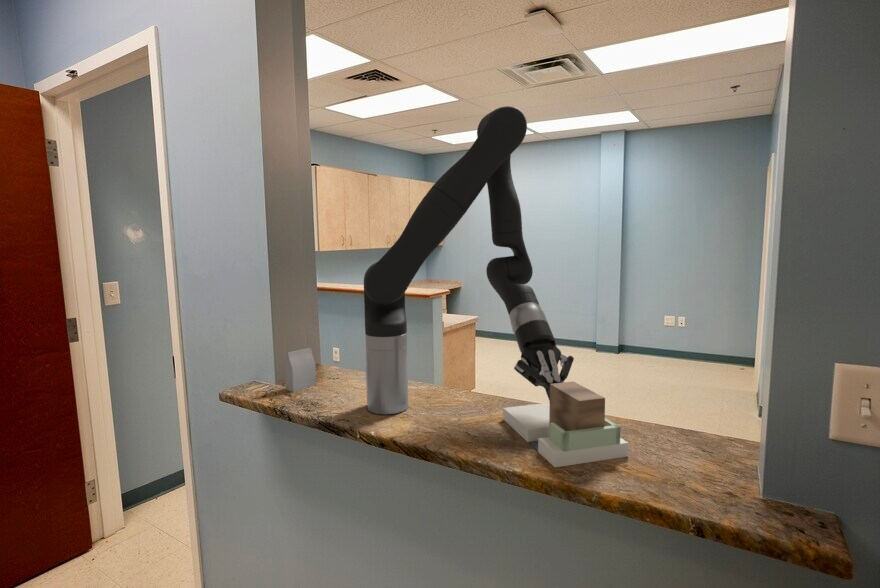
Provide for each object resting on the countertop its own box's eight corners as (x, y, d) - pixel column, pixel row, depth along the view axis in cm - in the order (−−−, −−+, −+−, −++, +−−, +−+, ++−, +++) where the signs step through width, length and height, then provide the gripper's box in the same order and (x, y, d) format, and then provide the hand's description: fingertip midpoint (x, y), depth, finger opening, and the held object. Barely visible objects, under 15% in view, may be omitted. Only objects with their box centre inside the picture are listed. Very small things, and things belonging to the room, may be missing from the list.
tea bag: (316, 386, 123) (314, 348, 122) (293, 392, 118) (291, 353, 117) (308, 383, 125) (306, 347, 124) (285, 389, 120) (283, 351, 119)
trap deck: (503, 419, 98) (503, 394, 97) (563, 412, 102) (563, 387, 101) (554, 467, 77) (555, 435, 76) (628, 456, 80) (629, 425, 80)
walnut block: (549, 424, 88) (549, 383, 88) (572, 421, 90) (573, 381, 89) (578, 446, 79) (579, 400, 78) (604, 443, 80) (605, 398, 79)
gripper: (507, 320, 95) (533, 397, 85) (565, 316, 98) (597, 390, 88) (497, 340, 101) (521, 415, 90) (552, 336, 104) (581, 408, 94)
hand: (559, 402), depth 89 cm, fingers closed
